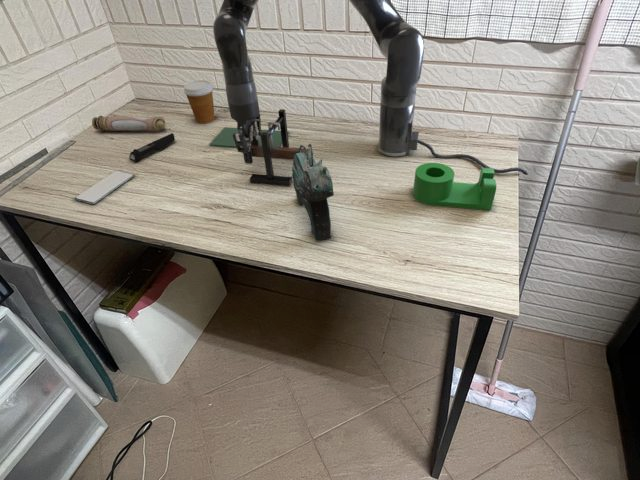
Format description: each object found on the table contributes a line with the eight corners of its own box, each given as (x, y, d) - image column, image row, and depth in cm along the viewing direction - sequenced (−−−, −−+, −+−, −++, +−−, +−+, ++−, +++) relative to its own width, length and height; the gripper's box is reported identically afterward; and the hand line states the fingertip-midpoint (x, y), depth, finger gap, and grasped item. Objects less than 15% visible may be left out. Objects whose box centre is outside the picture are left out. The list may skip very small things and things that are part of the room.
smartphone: (73, 198, 111) (115, 170, 121) (74, 199, 111) (116, 171, 122) (93, 203, 109) (134, 174, 119) (93, 205, 109) (135, 175, 119)
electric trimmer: (179, 143, 134) (176, 134, 132) (136, 163, 125) (132, 153, 123) (171, 140, 136) (169, 131, 134) (129, 160, 127) (125, 150, 125)
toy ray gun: (338, 242, 93) (335, 160, 80) (309, 248, 92) (302, 167, 79) (313, 194, 108) (307, 119, 95) (288, 199, 107) (279, 124, 94)
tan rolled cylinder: (103, 126, 146) (97, 112, 143) (171, 127, 143) (167, 113, 140) (94, 133, 142) (88, 119, 139) (164, 134, 139) (160, 120, 136)
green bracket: (412, 203, 102) (414, 181, 98) (413, 183, 109) (416, 161, 105) (490, 210, 99) (496, 186, 95) (487, 189, 106) (493, 166, 102)
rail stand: (270, 153, 126) (264, 107, 117) (306, 156, 123) (302, 109, 114) (250, 183, 114) (241, 134, 105) (289, 186, 111) (284, 137, 102)
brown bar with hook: (310, 157, 115) (308, 122, 108) (309, 160, 113) (306, 126, 107) (248, 153, 119) (242, 119, 112) (246, 156, 117) (239, 122, 111)
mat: (288, 133, 136) (288, 131, 135) (277, 150, 127) (276, 149, 126) (225, 128, 140) (224, 127, 140) (209, 145, 131) (209, 144, 131)
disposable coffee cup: (186, 123, 145) (176, 88, 137) (201, 112, 152) (193, 78, 144) (209, 127, 142) (201, 91, 134) (224, 115, 149) (217, 81, 141)
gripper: (245, 110, 101) (256, 172, 112) (265, 88, 112) (273, 147, 123) (216, 108, 103) (230, 170, 114) (239, 87, 113) (249, 145, 124)
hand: (252, 157), depth 118 cm, fingers open, 5 cm apart
